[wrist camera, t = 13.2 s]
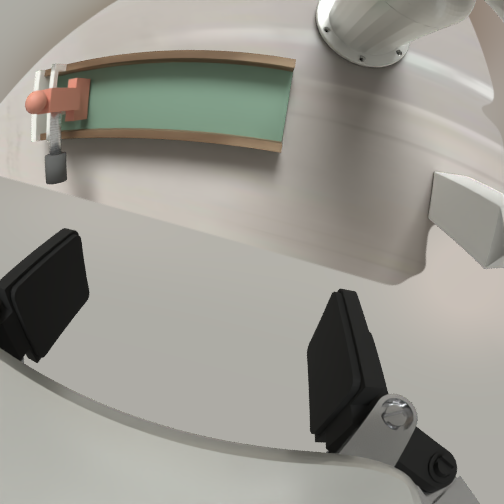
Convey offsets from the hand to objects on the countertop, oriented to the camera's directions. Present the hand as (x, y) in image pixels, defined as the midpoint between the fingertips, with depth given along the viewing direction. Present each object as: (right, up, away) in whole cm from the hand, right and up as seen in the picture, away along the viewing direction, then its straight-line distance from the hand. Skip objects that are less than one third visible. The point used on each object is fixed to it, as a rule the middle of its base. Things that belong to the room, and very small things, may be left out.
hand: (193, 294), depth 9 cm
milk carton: (+31, +10, +24) cm, 41 cm away
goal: (-26, +24, +20) cm, 41 cm away
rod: (-22, +19, +22) cm, 36 cm away
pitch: (-12, +22, +21) cm, 33 cm away
